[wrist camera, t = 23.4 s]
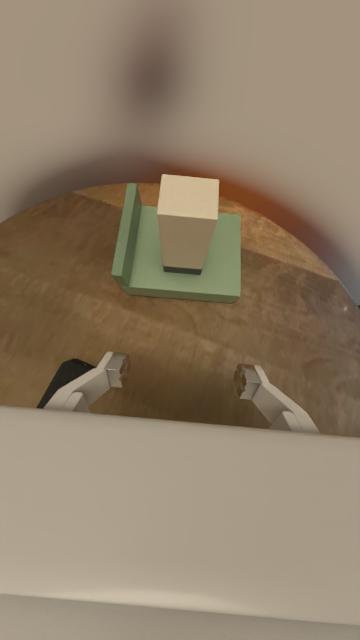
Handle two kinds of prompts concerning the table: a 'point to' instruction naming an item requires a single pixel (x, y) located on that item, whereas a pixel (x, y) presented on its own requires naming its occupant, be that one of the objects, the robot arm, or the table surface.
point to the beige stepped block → (186, 221)
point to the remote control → (64, 378)
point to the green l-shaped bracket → (147, 262)
